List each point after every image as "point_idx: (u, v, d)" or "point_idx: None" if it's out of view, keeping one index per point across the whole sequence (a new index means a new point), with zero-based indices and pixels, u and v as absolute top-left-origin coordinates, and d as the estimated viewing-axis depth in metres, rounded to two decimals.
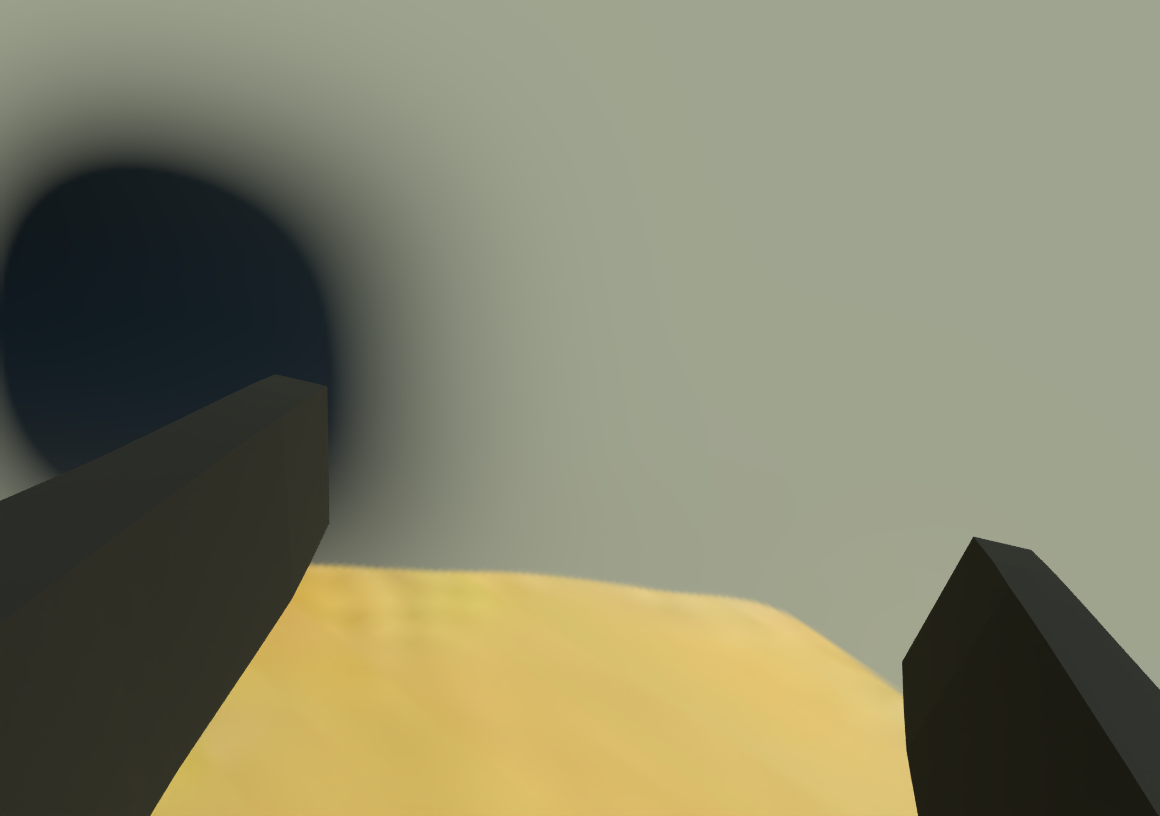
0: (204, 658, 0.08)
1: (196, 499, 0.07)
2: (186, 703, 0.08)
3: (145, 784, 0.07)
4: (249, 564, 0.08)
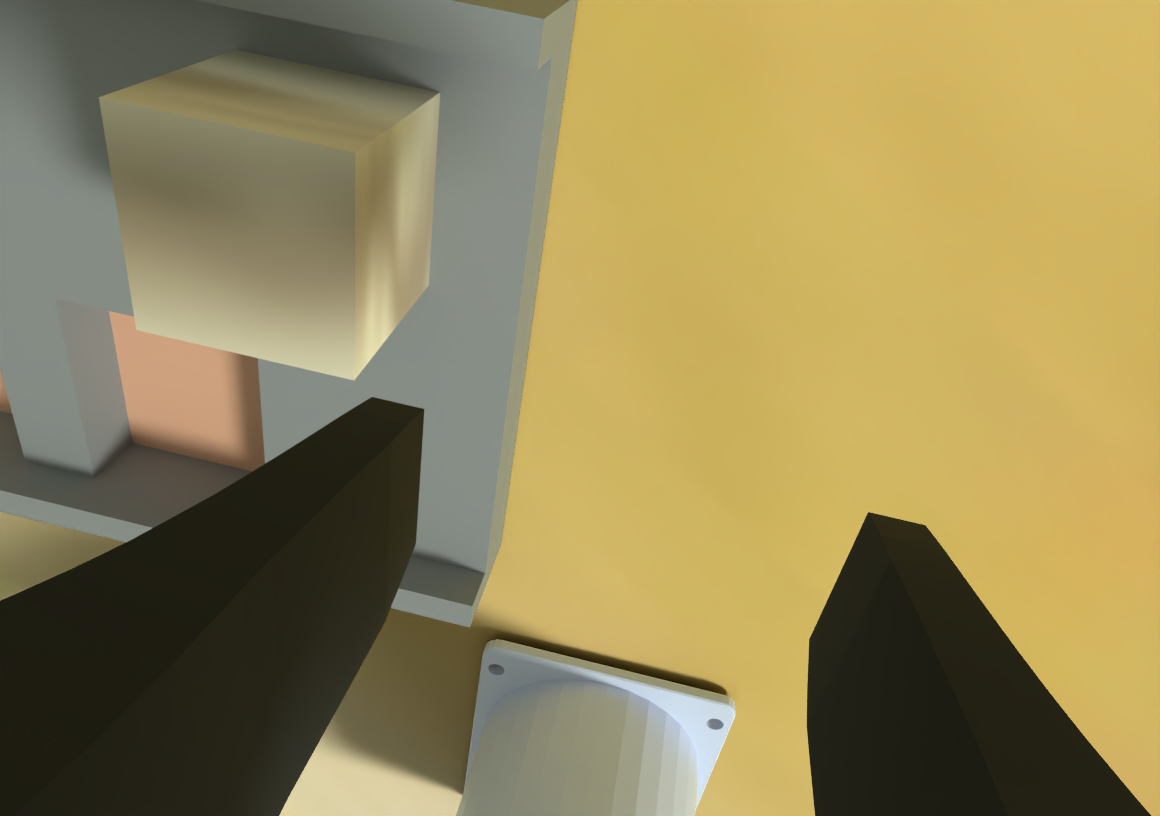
0: (315, 686, 0.08)
1: (321, 529, 0.07)
2: (298, 732, 0.08)
3: (261, 815, 0.07)
4: (355, 590, 0.08)
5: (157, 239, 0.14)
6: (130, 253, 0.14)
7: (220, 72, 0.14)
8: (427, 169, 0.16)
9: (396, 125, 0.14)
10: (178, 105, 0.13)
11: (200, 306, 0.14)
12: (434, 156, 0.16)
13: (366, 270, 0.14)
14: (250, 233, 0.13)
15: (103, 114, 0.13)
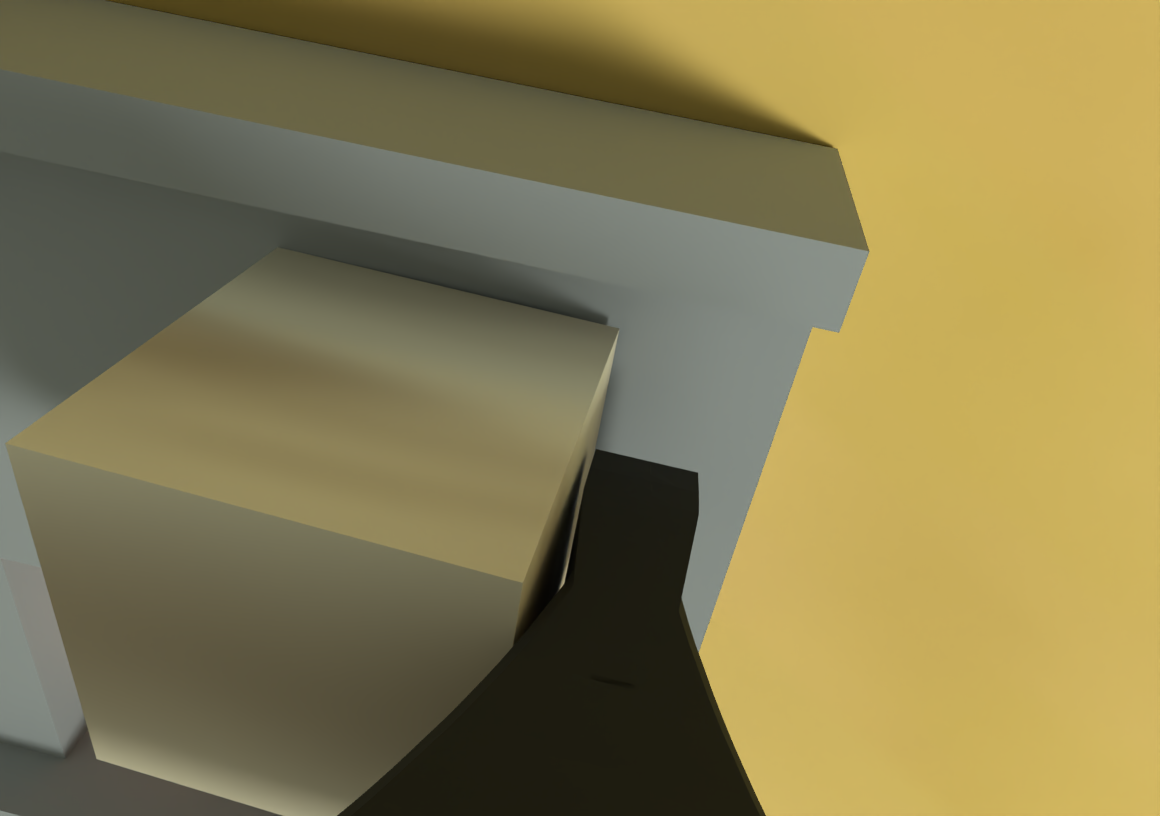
0: None
1: None
2: None
3: None
4: None
5: (127, 654, 0.07)
6: (80, 665, 0.08)
7: (250, 319, 0.08)
8: (591, 450, 0.09)
9: (574, 448, 0.07)
10: (164, 449, 0.06)
11: (206, 747, 0.08)
12: (599, 421, 0.10)
13: None
14: (299, 669, 0.07)
15: (16, 471, 0.06)
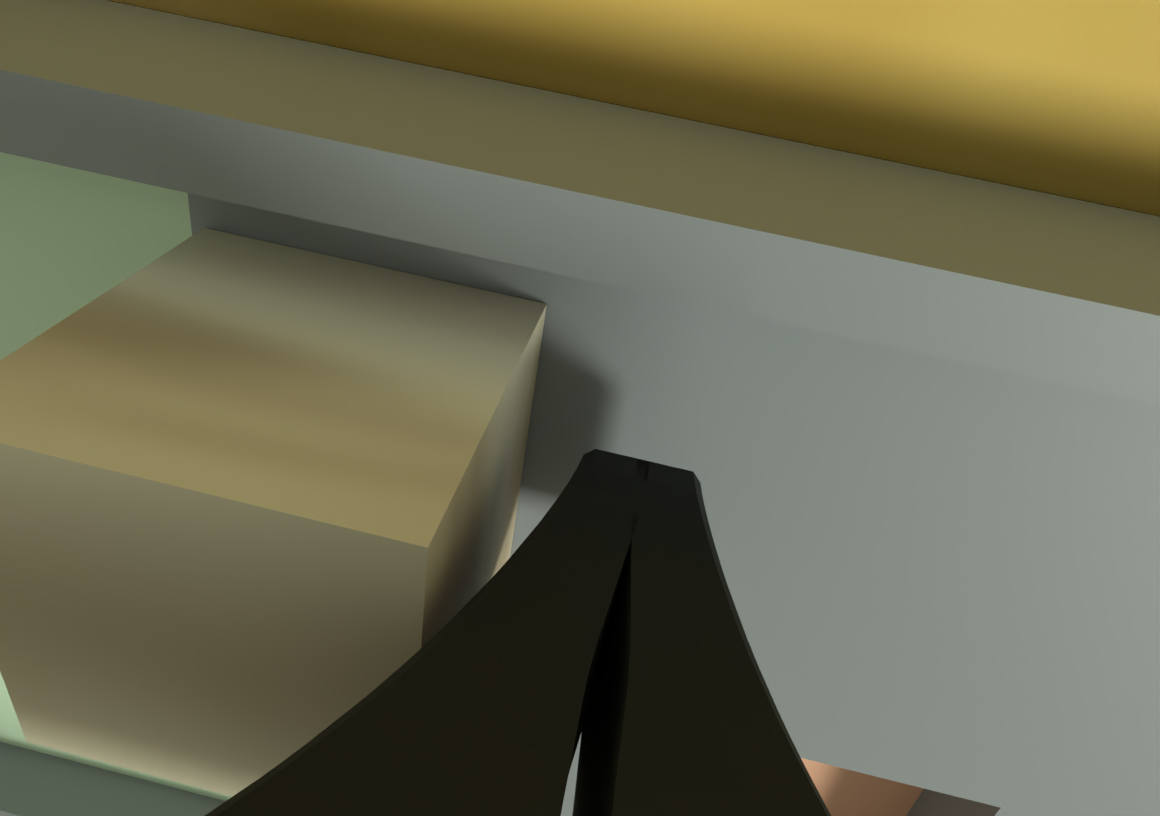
0: None
1: (611, 600, 0.07)
2: None
3: None
4: (601, 651, 0.08)
5: (48, 633, 0.07)
6: (2, 646, 0.08)
7: (170, 298, 0.08)
8: (522, 425, 0.10)
9: (492, 418, 0.07)
10: (72, 424, 0.06)
11: (133, 726, 0.08)
12: (531, 397, 0.10)
13: None
14: (217, 642, 0.07)
15: None
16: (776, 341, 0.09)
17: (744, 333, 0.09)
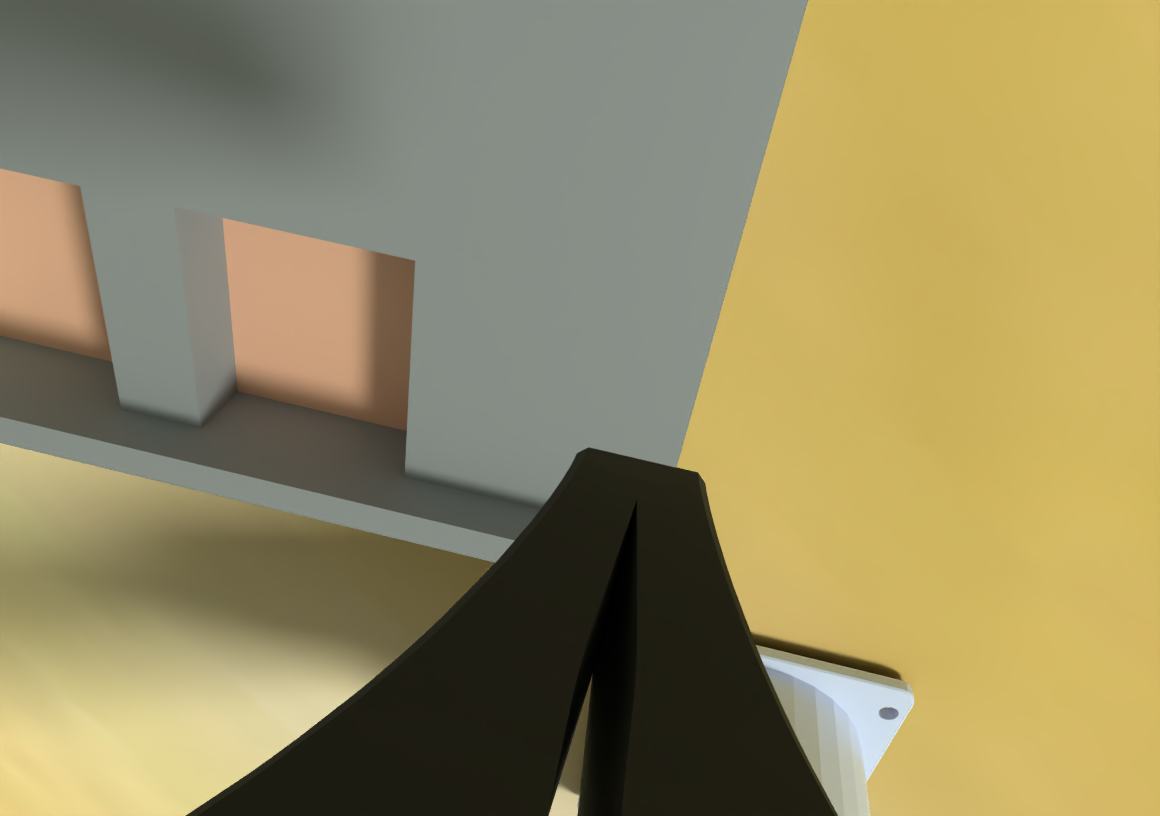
0: (565, 750, 0.08)
1: (603, 598, 0.07)
2: (551, 797, 0.08)
3: None
4: (594, 649, 0.08)
5: None
6: None
7: None
8: None
9: None
10: None
11: None
12: None
13: None
14: None
15: None
16: None
17: None
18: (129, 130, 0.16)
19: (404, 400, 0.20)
